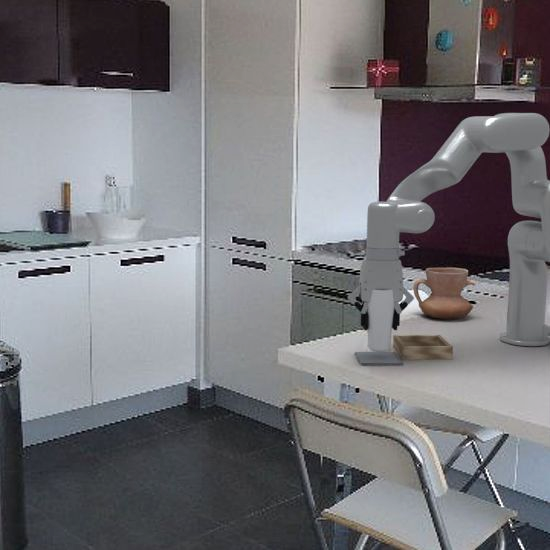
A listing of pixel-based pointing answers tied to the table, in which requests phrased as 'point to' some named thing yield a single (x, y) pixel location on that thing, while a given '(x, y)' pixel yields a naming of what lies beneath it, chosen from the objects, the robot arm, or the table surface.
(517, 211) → the robot arm
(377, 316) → the drinking glass
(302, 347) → the table surface
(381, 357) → the slate coaster
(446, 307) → the ceramic jug
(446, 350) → the oak collar
